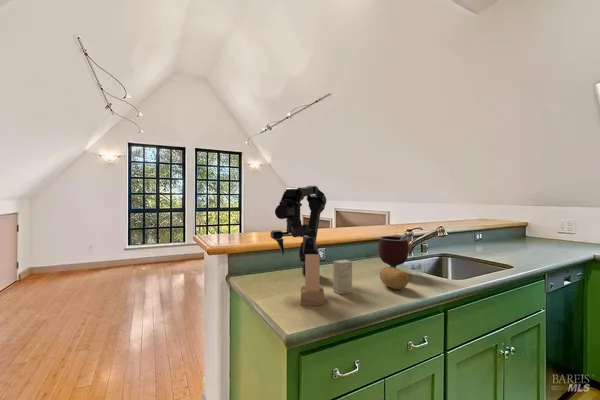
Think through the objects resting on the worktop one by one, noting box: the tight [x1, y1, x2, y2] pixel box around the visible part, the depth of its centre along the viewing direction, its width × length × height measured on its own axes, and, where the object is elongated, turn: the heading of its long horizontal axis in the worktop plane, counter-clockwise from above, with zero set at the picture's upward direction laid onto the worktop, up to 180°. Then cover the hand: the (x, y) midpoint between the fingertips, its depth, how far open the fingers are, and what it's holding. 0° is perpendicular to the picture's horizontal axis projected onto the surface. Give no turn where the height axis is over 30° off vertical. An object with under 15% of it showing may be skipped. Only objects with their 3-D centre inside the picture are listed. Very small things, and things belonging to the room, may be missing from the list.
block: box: [304, 253, 321, 291], centre depth 102 cm, size 5×5×12 cm
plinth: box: [300, 285, 325, 306], centre depth 102 cm, size 8×8×4 cm
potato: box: [379, 266, 410, 290], centre depth 116 cm, size 10×14×8 cm
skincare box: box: [332, 259, 353, 295], centre depth 112 cm, size 6×4×12 cm
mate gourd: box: [378, 232, 413, 272], centre depth 138 cm, size 16×14×20 cm
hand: (293, 254), depth 120 cm, fingers open, 9 cm apart
